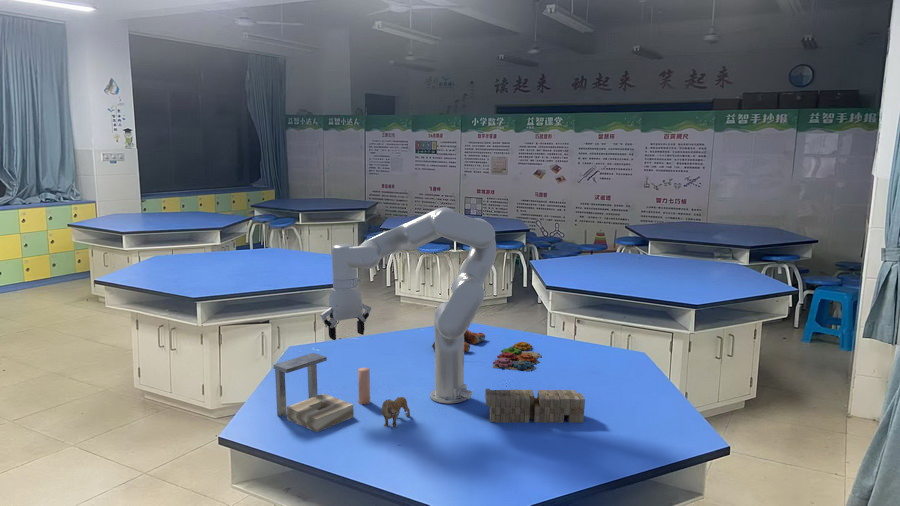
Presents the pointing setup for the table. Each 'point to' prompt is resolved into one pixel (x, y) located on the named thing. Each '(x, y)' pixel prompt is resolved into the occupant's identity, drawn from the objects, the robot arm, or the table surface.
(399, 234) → the robot arm
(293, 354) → the table surface
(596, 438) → the table surface
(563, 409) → the block tower
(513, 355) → the gear puzzle
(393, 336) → the table surface
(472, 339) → the camel toy
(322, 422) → the socket block
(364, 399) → the peg
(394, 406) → the lion figurine
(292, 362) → the grey piece
